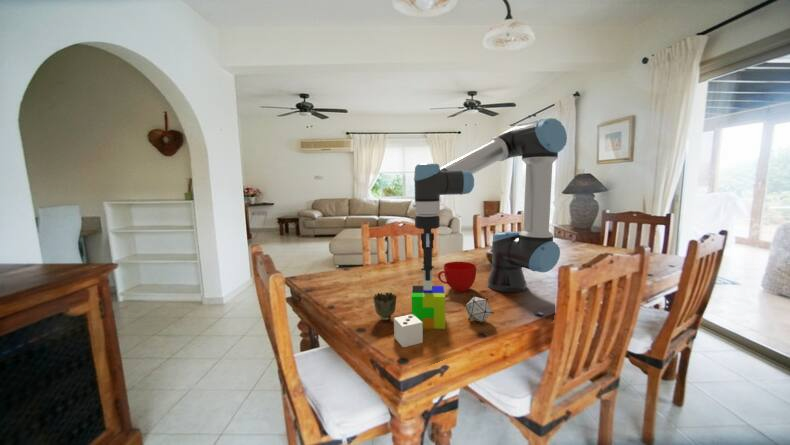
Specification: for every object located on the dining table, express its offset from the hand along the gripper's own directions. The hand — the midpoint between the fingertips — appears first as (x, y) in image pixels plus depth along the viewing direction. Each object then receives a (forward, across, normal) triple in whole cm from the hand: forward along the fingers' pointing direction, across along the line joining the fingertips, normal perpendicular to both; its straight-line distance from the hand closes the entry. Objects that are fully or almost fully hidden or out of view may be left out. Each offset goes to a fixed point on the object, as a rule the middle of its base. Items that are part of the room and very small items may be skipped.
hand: (427, 289), depth 97 cm
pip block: (+11, +12, -6) cm, 17 cm away
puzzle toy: (+11, 0, 0) cm, 11 cm away
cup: (+11, -1, -14) cm, 17 cm away
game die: (+11, 0, +16) cm, 19 cm away
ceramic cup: (+11, -29, +12) cm, 33 cm away
